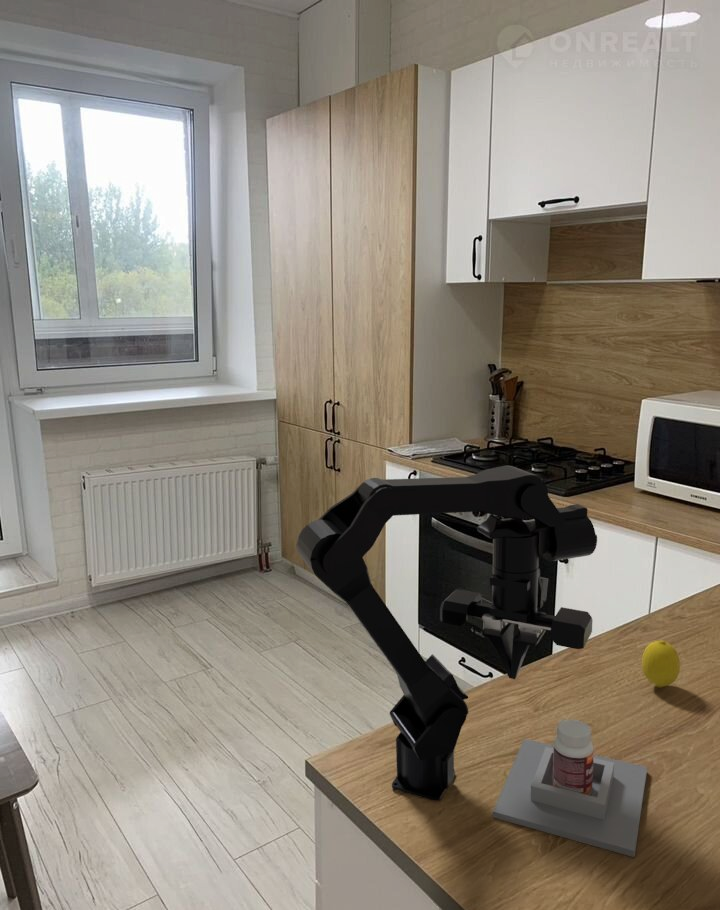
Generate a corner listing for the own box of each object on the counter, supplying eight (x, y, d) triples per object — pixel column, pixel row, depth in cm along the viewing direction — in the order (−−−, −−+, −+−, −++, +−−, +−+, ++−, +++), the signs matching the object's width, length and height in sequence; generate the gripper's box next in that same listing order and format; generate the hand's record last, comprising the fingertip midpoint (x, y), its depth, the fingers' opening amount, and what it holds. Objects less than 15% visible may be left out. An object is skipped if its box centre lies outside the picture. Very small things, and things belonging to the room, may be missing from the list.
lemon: (681, 683, 115) (684, 637, 113) (674, 700, 110) (678, 651, 108) (644, 675, 118) (646, 629, 116) (637, 690, 113) (639, 643, 111)
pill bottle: (594, 803, 87) (596, 740, 85) (553, 798, 88) (555, 737, 86) (590, 778, 92) (592, 718, 90) (551, 774, 93) (553, 715, 91)
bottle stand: (492, 817, 86) (492, 796, 86) (524, 743, 101) (524, 725, 100) (634, 857, 80) (635, 835, 79) (646, 772, 94) (647, 753, 93)
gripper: (603, 556, 95) (597, 665, 98) (468, 537, 103) (467, 638, 106) (585, 585, 85) (580, 705, 88) (438, 562, 94) (438, 672, 97)
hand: (513, 677), depth 95 cm, fingers closed
